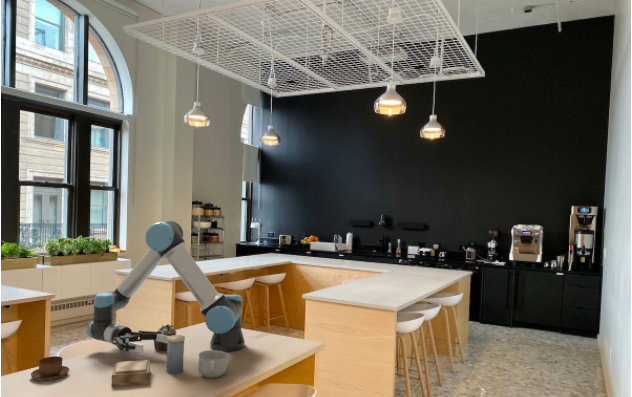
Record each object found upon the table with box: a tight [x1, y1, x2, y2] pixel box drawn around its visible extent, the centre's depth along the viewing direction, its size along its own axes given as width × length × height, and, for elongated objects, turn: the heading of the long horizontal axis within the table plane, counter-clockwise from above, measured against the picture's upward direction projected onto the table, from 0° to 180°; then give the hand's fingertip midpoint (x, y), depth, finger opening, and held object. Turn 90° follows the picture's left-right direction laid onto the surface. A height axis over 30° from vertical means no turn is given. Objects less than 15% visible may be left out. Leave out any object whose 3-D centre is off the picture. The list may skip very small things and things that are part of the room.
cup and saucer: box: [30, 355, 70, 381], centre depth 166 cm, size 12×12×6 cm
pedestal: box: [110, 359, 151, 388], centre depth 166 cm, size 12×12×5 cm
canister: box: [166, 334, 186, 375], centre depth 175 cm, size 6×6×13 cm
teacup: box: [197, 349, 229, 379], centre depth 170 cm, size 14×11×8 cm
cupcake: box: [153, 323, 177, 352], centre depth 201 cm, size 10×10×10 cm
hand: (156, 344), depth 179 cm, fingers open, 13 cm apart
